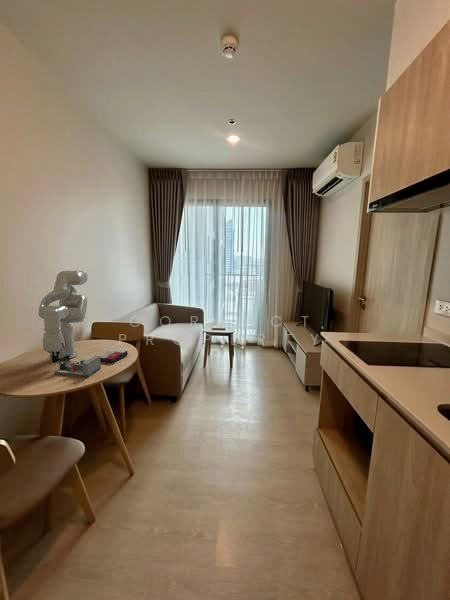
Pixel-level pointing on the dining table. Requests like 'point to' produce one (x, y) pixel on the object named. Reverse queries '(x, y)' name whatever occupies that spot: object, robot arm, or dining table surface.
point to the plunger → (65, 362)
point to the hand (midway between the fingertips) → (55, 361)
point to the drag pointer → (72, 367)
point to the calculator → (113, 356)
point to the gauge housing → (82, 368)
